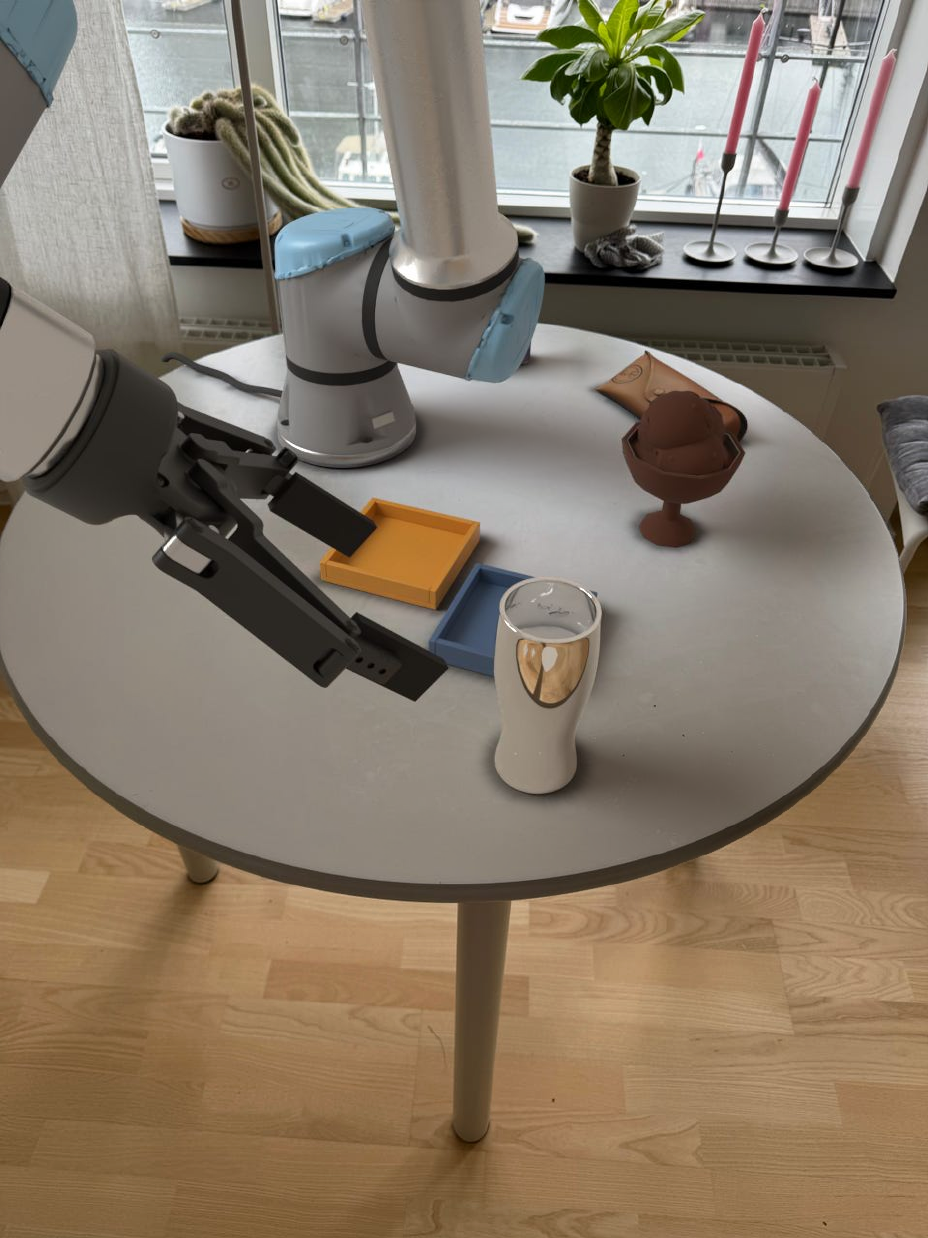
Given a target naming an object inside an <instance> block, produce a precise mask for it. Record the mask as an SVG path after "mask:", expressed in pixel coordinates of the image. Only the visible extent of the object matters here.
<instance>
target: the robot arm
mask: <svg viewBox="0 0 928 1238" xmlns="http://www.w3.org/2000/svg"><path fill="white" fill-rule="evenodd" d="M359 6H360V11H361V17H362V22H363V28H364V33H365V38H366V44H367V49H368V55H369V60H370V65H371V71H372V77H373V82H374V87H375V93H376V98H377V104H378V110H379V114H380V120H381V125H382V126H381V127H382V130H383V136H384V143H385V149H386V152H387V158H388V164H389V169H390V175H391V180H392V186H393V191H394V196H395V201H396V208H397V212H398V217H399V218H398V219H399V223H400V227H399V229H397V231H396V224H395V223H394V221H393V217H392V216H391V214H389V213H388V212H386V211H385V210H383V209H380V208H376V207H375V208H374V207H369V206H367V207H364V206H356V207H354V206H353V207H341V208H332V209H326V210H321V211H318V212H314V213H310V214H307V215H305V216H301V217H298V218H297V219H295V220H293V221H291V222H289V223H288V224H286V225H285V226H283V227H282V228H281V229H280V231H279V232H278V234H277V235H276V237H275V241H274V266H275V271H274V278H275V280H276V284H277V285H276V286H277V294H278V302H279V311H280V319H281V327H282V336H283V344H284V352H285V359H286V360H285V362H286V375H285V380H284V383H283V388H282V390H280V389H276V388H272V387H267V386H260V385H253V384H249V383H246V382H245V383H244V382H241V381H239V380H238V379H236V378H234V377H233V376H231V375H229V374H228V373H226V372H224V371H221V370H219V369H215V368H213V367H210V366H206V365H203V364H200V363H198V362H195V361H193V360H192V359H191V358H188V357H187V356H185V355H183V354H181V353H178V352H174V351H173V352H172V351H171V352H168V353H166V354H165V355H164V356H163V357H162V358H161V360H160V361H161V362H162V363H169V362H170V361H171V360H176V361H178V362H180V363H182V364H184V365H185V366H186V367H189V368H191V369H193V370H195V371H197V372H200V373H202V374H206V375H209V376H213V377H216V378H218V379H221V380H223V381H224V382H226V383H228V384H229V385H230V386H232V387H234V388H236V389H238V390H240V391H244V392H248V393H255V394H262V395H268V396H272V397H276V398H280V401H279V405H278V410H277V414H276V421H275V423H276V424H275V425H276V432H277V439H278V442H279V444H280V446H281V447H282V449H281V450H280V451H279V453H278V454H277V455H273V454H274V453H275V452H276V451H277V446H276V445H275V444H274V442H273V441H272V439H269V438H268V437H265V436H263V435H260V434H257V433H255V432H254V431H253V432H252V431H250V430H247V429H245V428H242V427H240V426H238V425H235V424H232V423H230V422H227V421H224V420H222V419H219V418H217V417H214V416H211V415H209V414H207V413H204V412H201V411H199V410H197V409H194V408H191V407H189V406H186V405H184V404H182V403H181V402H179V401H178V399H177V396H176V393H175V391H174V390H173V388H172V387H171V386H170V385H169V384H168V383H166V382H165V381H163V380H162V379H160V378H159V377H157V376H155V375H154V374H152V373H151V372H149V371H148V370H146V369H144V368H143V367H141V366H140V365H139V364H136V363H135V362H134V361H132V360H130V359H129V358H127V357H126V356H124V355H122V354H121V353H119V352H118V351H116V350H115V349H112V348H106V349H103V348H101V349H97V344H96V341H95V338H94V336H93V335H92V334H91V333H90V332H89V331H87V330H86V329H84V328H82V327H81V326H79V325H78V324H76V323H74V322H72V321H71V320H69V319H68V318H66V316H63V315H61V314H60V313H58V312H57V311H55V310H54V309H52V308H50V307H49V306H47V305H46V304H44V303H43V302H41V301H39V300H38V299H36V297H35V298H34V297H33V296H31V295H30V294H28V293H26V292H25V291H24V290H22V289H20V288H19V287H17V286H16V285H14V284H12V283H11V282H8V280H7V279H4V278H3V277H2V276H0V480H1V481H3V482H6V483H10V482H15V481H19V480H21V484H22V486H23V487H24V491H25V492H26V494H28V495H29V496H30V497H32V498H35V499H37V500H38V501H41V502H42V503H44V504H47V505H49V506H51V507H52V508H55V509H57V510H58V511H61V512H63V513H64V514H67V515H69V516H70V517H73V518H74V519H77V520H79V521H80V522H82V523H85V524H87V525H92V526H102V525H106V524H108V523H111V522H112V521H114V520H117V519H118V518H119V519H120V518H122V517H126V516H137V517H139V519H140V520H142V521H143V522H144V523H146V524H147V525H149V526H150V527H152V528H153V529H154V530H155V531H156V532H157V533H158V534H159V535H160V536H161V537H163V540H164V542H163V543H162V545H160V547H159V548H158V549H157V551H155V552H154V554H153V555H152V557H151V560H152V563H153V565H154V566H155V567H156V568H157V569H158V570H159V571H160V572H162V573H164V574H165V575H167V576H169V577H171V578H173V579H175V580H176V581H178V582H180V583H182V584H183V585H185V586H187V587H189V588H190V589H192V590H194V591H196V592H198V593H199V594H200V595H201V596H202V597H204V598H205V599H206V600H208V601H209V602H210V603H211V604H213V605H214V606H215V607H217V608H218V609H219V610H220V611H222V612H223V613H225V615H227V616H228V617H230V618H231V619H232V620H233V621H235V622H236V623H237V624H238V625H240V626H241V627H242V628H244V629H245V630H246V631H248V632H249V633H250V634H252V635H253V636H254V637H255V638H256V639H258V640H259V641H260V642H262V643H263V644H264V645H265V646H267V647H268V648H270V649H271V650H272V651H273V652H275V653H276V654H277V655H279V656H280V657H281V658H282V659H283V660H285V661H286V662H287V663H289V664H290V665H291V666H293V667H294V668H295V669H297V671H299V672H300V673H302V674H304V676H305V677H306V678H308V679H309V680H311V681H312V682H313V683H315V684H316V685H317V686H319V687H321V688H324V689H328V688H329V686H330V685H331V684H332V683H333V682H334V681H336V679H338V677H339V676H340V675H341V674H342V673H343V672H344V671H345V670H347V671H350V672H352V673H353V674H356V675H357V676H360V677H363V678H365V679H366V680H368V681H371V682H372V683H374V684H376V685H379V686H381V687H383V688H385V689H387V690H389V691H391V692H393V693H396V694H397V695H399V696H401V697H404V698H406V699H407V700H410V701H412V702H414V703H416V702H417V701H418V700H419V699H420V698H421V697H422V696H423V695H425V693H426V692H427V691H428V690H429V689H430V688H431V687H432V686H433V685H434V684H435V683H436V682H438V680H439V679H440V678H441V677H442V676H443V675H444V674H445V673H446V672H447V671H448V670H449V669H450V668H449V666H448V664H446V662H445V660H444V659H443V658H441V657H439V656H437V655H435V654H433V653H432V652H430V651H429V649H426V648H425V647H422V646H421V645H419V644H417V643H415V642H413V641H411V640H409V639H408V638H406V637H404V636H402V635H400V634H399V633H396V632H394V631H393V630H391V629H389V628H388V627H385V626H384V625H381V624H380V623H378V622H376V621H374V620H372V619H370V618H369V617H367V616H366V615H363V614H361V613H360V612H358V611H356V612H354V613H353V615H352V616H351V617H350V616H349V615H348V614H347V613H345V611H344V610H342V608H340V607H339V605H337V604H336V603H335V602H334V601H333V600H332V599H331V598H330V597H329V596H328V595H327V594H326V593H325V592H324V591H323V590H322V589H321V588H320V587H319V586H318V585H317V584H316V583H314V581H312V580H311V579H310V578H309V576H307V575H306V574H305V573H304V572H303V571H302V570H301V569H300V568H299V567H298V566H296V565H295V563H293V562H292V561H291V559H289V557H288V556H286V555H285V554H284V553H283V552H282V551H281V550H280V549H279V548H278V547H277V546H276V545H275V544H274V543H273V542H271V540H269V538H267V537H266V535H265V534H264V522H263V520H262V519H261V517H260V516H258V515H257V513H255V512H254V510H253V509H252V508H250V507H249V505H247V504H246V503H245V502H244V501H243V500H267V498H269V496H271V497H272V498H271V499H270V501H268V503H267V507H268V510H269V512H270V513H273V514H274V515H276V516H278V517H279V518H281V519H282V520H285V521H286V522H288V523H290V524H291V525H293V526H294V527H296V528H298V529H299V530H301V531H303V532H305V533H306V534H308V535H310V536H311V537H313V538H315V539H316V540H318V541H320V542H322V543H324V544H325V545H327V546H329V547H330V548H334V549H335V550H337V551H339V552H341V553H342V554H344V555H346V556H347V557H349V558H350V557H351V556H352V555H353V554H354V552H355V551H356V550H357V549H358V548H359V547H360V546H361V545H362V544H363V543H364V542H365V540H366V539H367V538H368V537H369V536H370V535H371V534H372V533H373V532H374V531H375V530H376V528H377V526H376V524H375V522H374V521H373V520H371V519H370V518H368V517H366V516H365V515H363V514H362V513H360V512H361V511H358V509H356V508H354V507H352V506H351V505H350V504H348V503H346V502H345V501H343V500H341V499H340V498H338V497H336V496H335V495H333V494H331V493H330V492H329V491H327V490H326V489H324V488H322V487H321V486H319V484H316V483H315V482H313V481H311V480H309V479H308V478H307V477H305V476H303V475H302V474H300V473H299V472H297V471H295V472H294V473H293V474H291V473H290V472H291V471H292V470H293V469H294V467H295V466H296V465H297V464H298V463H299V462H300V461H301V462H304V463H307V464H312V465H314V466H319V467H325V468H338V469H346V468H348V469H349V468H359V467H366V466H370V465H371V466H372V465H376V464H379V463H382V462H385V461H387V460H390V459H392V458H394V457H396V456H398V455H400V454H402V453H403V452H404V451H405V450H406V449H408V448H409V447H410V446H411V445H412V443H413V442H414V440H415V438H416V434H417V417H416V412H415V407H414V405H413V403H412V400H411V398H410V394H409V392H408V390H407V387H406V384H405V381H404V379H403V376H402V374H401V371H400V368H399V365H398V364H400V365H405V366H409V367H413V368H415V369H421V370H425V371H428V372H429V371H430V372H433V373H436V374H441V375H446V376H450V377H453V378H458V379H462V380H465V381H467V382H471V381H477V382H484V383H491V384H500V383H503V382H505V381H507V380H508V379H510V378H511V377H512V376H513V375H514V374H515V373H516V372H517V370H518V369H519V368H520V366H521V365H522V364H521V362H522V360H523V358H524V356H525V354H526V352H527V350H528V348H529V345H530V343H531V344H532V340H533V337H534V334H535V332H536V328H537V325H538V321H539V318H540V314H541V310H542V306H543V300H544V294H545V285H546V276H545V270H544V267H543V266H542V265H541V263H540V262H539V261H537V260H533V259H532V258H531V257H526V258H522V257H520V251H519V241H518V240H519V239H518V233H517V230H516V228H515V226H514V224H513V222H512V221H511V220H510V219H509V218H508V217H506V216H505V215H504V214H503V213H501V212H499V203H498V202H499V201H498V193H497V192H498V191H497V182H496V170H495V159H494V157H495V156H494V148H493V147H494V146H493V137H492V125H491V114H490V113H491V111H490V102H489V88H488V79H487V68H486V67H487V66H486V55H485V44H484V32H483V23H482V22H483V21H482V9H481V0H359ZM78 24H79V22H78V14H77V8H76V5H75V2H74V0H0V189H1V188H2V187H3V185H4V184H5V181H6V179H7V178H8V176H9V175H10V173H11V171H12V169H13V167H14V165H15V163H16V161H18V158H19V157H20V154H21V153H22V151H23V149H24V147H25V146H26V144H27V142H28V140H29V138H30V137H31V135H32V133H33V131H34V129H35V128H36V126H37V124H38V123H39V121H40V119H41V117H42V116H43V114H44V113H45V111H46V110H47V109H50V108H51V106H52V104H53V103H54V102H53V101H54V100H55V99H54V94H53V93H54V90H55V89H56V86H57V84H58V81H59V79H60V77H61V75H62V72H63V70H64V68H65V66H66V63H67V61H68V59H69V57H70V54H71V52H72V50H73V47H74V45H75V42H76V41H77V40H76V39H77V35H78V30H79V29H78V28H79V25H78ZM395 231H396V232H395ZM235 527H236V529H235V530H233V529H234V528H235ZM232 530H233V532H232ZM231 532H232V534H231V535H230V536H229V537H228V538H227V536H228V535H229V534H230V533H231Z"/></svg>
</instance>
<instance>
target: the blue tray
mask: <svg viewBox="0 0 928 1238" xmlns="http://www.w3.org/2000/svg"><path fill="white" fill-rule="evenodd" d="M535 577H536V576H532V575H529V574H525V573H520V572H517V571H513V570H508V569H503V568H499V567H496V566H492V565H487V564H484V563H478V562H476V563H475V564H474V566H473V567H472V569H471V570H470V573H469V574H468V576H467V578H466V579H465V581H464V582H463V584H462V586H461V587H460V589H459V590H458V592H457V593H456V595H455V597H454V599H453V600H452V602H451V603H450V605H449V607H448V608H447V610H446V612H445V614H444V615H443V616H442V618H441V620H440V622H439V623H438V624H437V626H436V628H435V630H434V631H433V633H432V634H431V636H430V638H429V640H428V651H430V652H432V653H433V654H435V655H437V656H439V657H441V658H443V659H444V660H445V662H446V664H447V665H449V666H453V667H456V668H459V669H464V670H466V671H467V670H468V671H471V672H475V673H478V674H482V675H485V676H489V677H492V678H495V677H494V644H495V635H496V628H497V622H498V616H499V605H500V601H501V598H502V596H503V594H504V593H505V592H506V591H507V590H508V589H509V588H510V587H511V586H513V585H514V584H516V583H518V582H520V581H523V580H526V579H530V578H535ZM588 590H589V591H591V592H592V593H593V594H594V595H595V597H596V598H597V599H598V592H597V591H594V590H590V589H588Z"/></svg>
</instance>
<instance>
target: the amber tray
mask: <svg viewBox="0 0 928 1238" xmlns="http://www.w3.org/2000/svg"><path fill="white" fill-rule="evenodd" d="M359 512H360V513H362V514H363V515H365V516H366V517H368V518H370V519H371V520H373V521H374V522H375V524H376V526H377V528H376V530H375V531H374V532H373V533H372V534H371V535H370V536H369V537H368V538H367V539H366V540H365V542H364V543H363V544H362V545H361V546H360V547H359V548H358V549H357V550H356V551H355V552H354V554H353V555H352V556H351V557H350V558H349V557H347V556H346V555H344V554H342V553H341V552H339V551H337V550H335V549H334V548H332V547H330V549H329V550H328V551H327V553H325V555H324V556H323V557H322V558H321V560H320V561H319V571H320V579H321V581H322V582H327V583H332V584H334V585H338V586H342V587H346V588H350V589H354V590H357V591H361V592H364V593H369V594H373V595H376V596H381V597H384V598H388V599H392V600H396V601H400V602H404V603H408V604H411V605H415V606H419V607H422V608H427V609H430V610H435V611H436V610H437V609H438V607H439V606H440V604H441V603H442V601H443V599H444V598H445V596H446V595H447V593H448V591H449V590H450V588H451V586H452V585H453V583H454V582H455V580H456V578H457V577H458V575H459V573H461V571H462V569H463V568H464V566H465V564H466V562H467V561H468V560H469V558H470V556H471V554H472V553H473V551H474V550H475V548H476V547H477V545H478V544H479V542H480V537H481V536H480V535H481V522H480V521H477V520H472V519H467V518H462V517H459V516H454V515H450V514H444V513H442V512H437V511H433V510H428V509H424V508H420V507H417V506H416V507H415V506H411V505H408V504H407V505H406V504H404V503H403V504H402V503H398V502H393V501H391V500H385V499H381V498H378V497H371V499H370V500H369V501H368V502H367V503H366V505H364V507H363V508H362V510H361V511H359Z"/></svg>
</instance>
